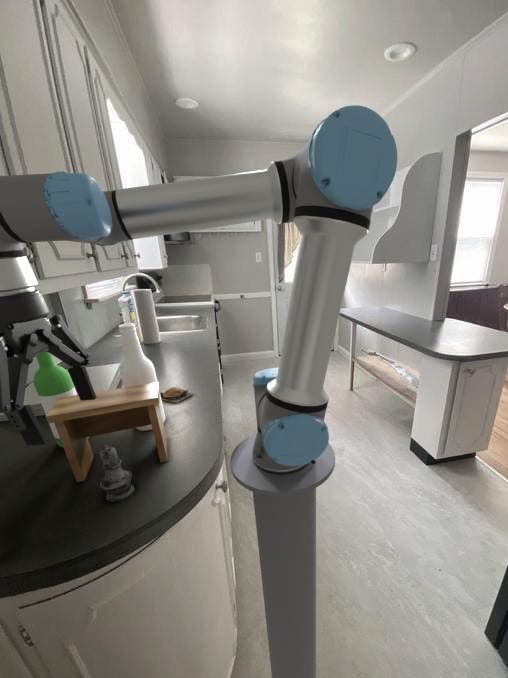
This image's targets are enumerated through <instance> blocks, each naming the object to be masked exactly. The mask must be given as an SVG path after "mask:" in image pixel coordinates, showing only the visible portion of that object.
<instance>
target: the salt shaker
mask: <svg viewBox="0 0 508 678" xmlns="http://www.w3.org/2000/svg"><path fill="white" fill-rule="evenodd" d="M99 457H100V460H101V463H102V465H101V469H102V470H104V473H105V476H104V477H103V478H102V479H101V480H100V483H99V485H100V487H101V489H103V490H104V491H105V492H106V496H105V497H106V500H107V501H108V502H119V501H123V500H125V499H127V498H128V497H130V496H131V495H132V494H133V492H134V491H135V487H134V485H133V484H132V483H131V482H132V476H133V474H132V472H131V470H128V469H123V468H122V465H121V464H122V459H121V458H119V455H118V453H117V450H116V448H115V447H113V446H109V445H108V444H104V446H103V449H101V451H100V452H99Z"/></svg>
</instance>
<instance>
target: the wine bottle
mask: <svg viewBox="0 0 508 678" xmlns="http://www.w3.org/2000/svg"><path fill="white" fill-rule="evenodd" d="M35 358H36V360H37V363H38V367H39V368H38V369H37V370H36V371H35V373H34V375H33V379H32V380H33V381H32V382H33V385H34V386H33V387H34V388H35V391H36V393H37V397H38V398H39V402H40V404H41V407H42V409H43V412H44V415H45V417H46V416H47V414H48V413H49V412H50V410H51V409H52V408H53V406H54V405H55V404H56V402H57V401H58V400H59V398H61V397H68V396H74V395H78V393H77V391H76V389H75V386H74V384H73V382H72V379H71V377H70V375H69V372H68V370H67V369H65V368H64V367H62V366H60V365H58V364H56V363H55V361H54V358H53V355H52V354H50V353H49V352H47V351H46V352H41V353H40V354H39V355H38V356H36V357H35ZM48 425H49V427H50V430H51V432H52V435H53V438H54V439H55V442H56V445H57V446H58V447H60V448H63V449H64V447H63V445H62V442H61V439H60V437H59V434H58V432H57V429H56V426H55V424H54V423H49V424H48ZM87 438H88V439H89V438H90V437H87Z"/></svg>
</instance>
